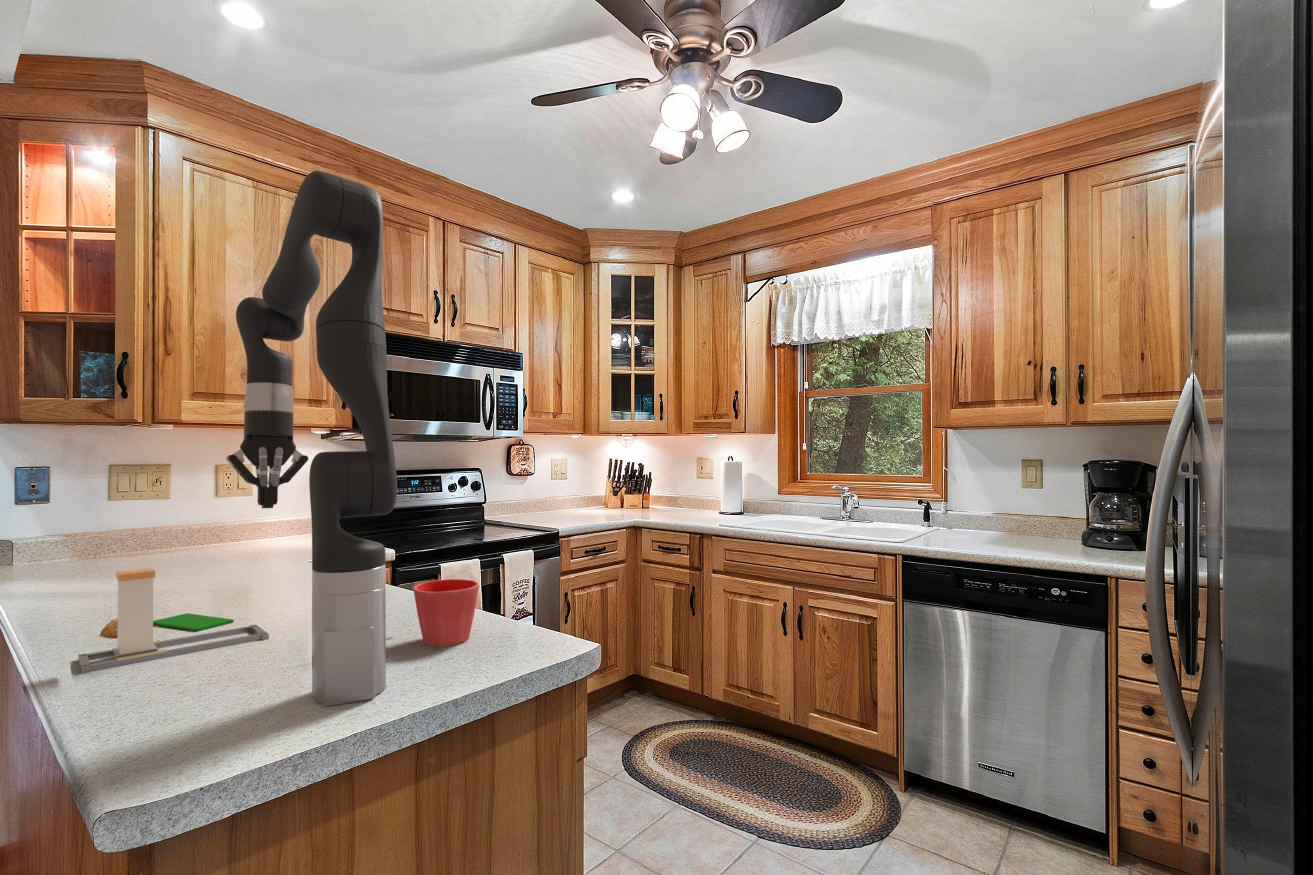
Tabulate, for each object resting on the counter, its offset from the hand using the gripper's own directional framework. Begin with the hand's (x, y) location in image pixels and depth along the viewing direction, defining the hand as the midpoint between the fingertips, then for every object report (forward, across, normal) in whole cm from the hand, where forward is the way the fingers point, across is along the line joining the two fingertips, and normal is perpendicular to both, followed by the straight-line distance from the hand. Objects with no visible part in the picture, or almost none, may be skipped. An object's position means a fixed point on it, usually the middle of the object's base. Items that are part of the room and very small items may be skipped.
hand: (267, 508), depth 114 cm
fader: (+22, -18, +1) cm, 29 cm away
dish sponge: (+24, -8, +20) cm, 32 cm away
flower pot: (+24, +24, -20) cm, 39 cm away
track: (+24, -12, +2) cm, 27 cm away
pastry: (+24, -18, +22) cm, 37 cm away
